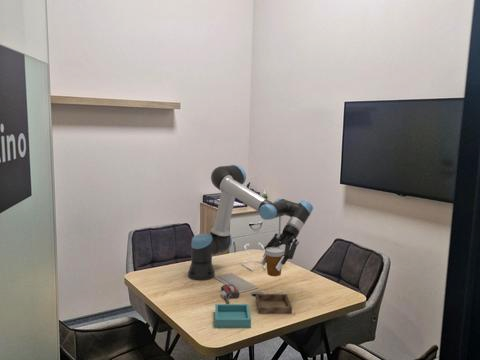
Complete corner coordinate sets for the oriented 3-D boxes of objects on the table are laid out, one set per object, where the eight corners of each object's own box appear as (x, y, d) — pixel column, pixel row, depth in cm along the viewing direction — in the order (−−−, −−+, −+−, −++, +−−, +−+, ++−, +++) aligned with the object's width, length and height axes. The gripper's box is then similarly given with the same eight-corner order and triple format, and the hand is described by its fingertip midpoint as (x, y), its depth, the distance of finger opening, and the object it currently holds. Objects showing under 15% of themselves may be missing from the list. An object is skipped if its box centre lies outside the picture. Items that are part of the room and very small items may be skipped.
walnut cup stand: (258, 313, 190) (258, 307, 190) (255, 299, 205) (255, 294, 205) (291, 313, 191) (292, 307, 190) (286, 299, 206) (286, 294, 206)
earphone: (250, 267, 241) (243, 241, 252) (244, 281, 253) (237, 256, 264) (272, 265, 245) (264, 240, 257) (264, 279, 257) (257, 255, 268)
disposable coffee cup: (286, 272, 198) (287, 248, 197) (280, 279, 190) (281, 253, 188) (268, 269, 202) (268, 245, 201) (261, 275, 194) (261, 250, 192)
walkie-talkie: (217, 290, 217) (226, 306, 198) (217, 282, 217) (226, 297, 198) (233, 288, 220) (244, 304, 201) (233, 280, 219) (244, 295, 200)
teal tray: (214, 327, 176) (215, 319, 176) (215, 311, 191) (215, 304, 191) (250, 327, 177) (251, 319, 176) (248, 311, 192) (248, 304, 192)
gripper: (313, 237, 196) (291, 277, 187) (279, 228, 212) (257, 264, 203) (307, 228, 192) (283, 268, 183) (273, 219, 207) (249, 256, 199)
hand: (269, 266), depth 193 cm, fingers closed on disposable coffee cup, 9 cm apart
